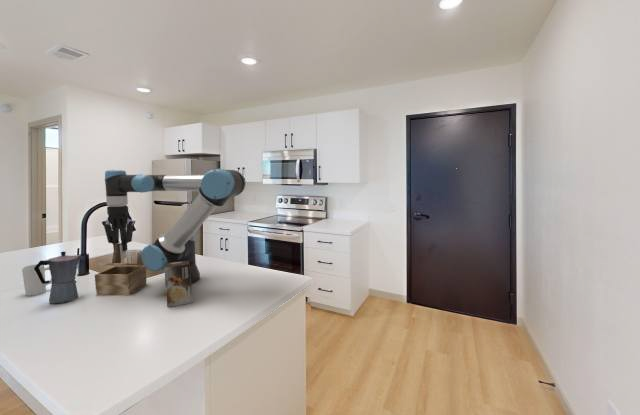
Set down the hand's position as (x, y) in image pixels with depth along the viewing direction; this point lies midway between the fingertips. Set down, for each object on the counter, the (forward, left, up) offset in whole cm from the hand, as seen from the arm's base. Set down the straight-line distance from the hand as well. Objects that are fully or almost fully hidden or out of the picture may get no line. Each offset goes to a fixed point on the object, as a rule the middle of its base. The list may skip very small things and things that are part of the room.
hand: (121, 258), depth 126 cm
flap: (0, 0, -3) cm, 3 cm away
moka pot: (+17, +11, -14) cm, 25 cm away
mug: (+34, +3, -14) cm, 37 cm away
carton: (0, +1, -14) cm, 14 cm away
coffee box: (-32, +14, -14) cm, 38 cm away
